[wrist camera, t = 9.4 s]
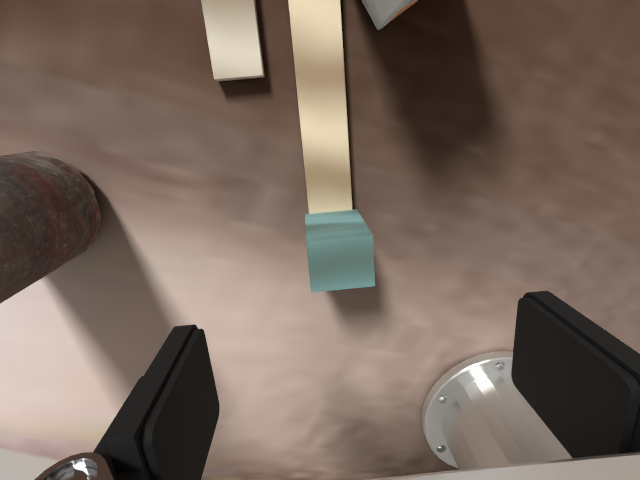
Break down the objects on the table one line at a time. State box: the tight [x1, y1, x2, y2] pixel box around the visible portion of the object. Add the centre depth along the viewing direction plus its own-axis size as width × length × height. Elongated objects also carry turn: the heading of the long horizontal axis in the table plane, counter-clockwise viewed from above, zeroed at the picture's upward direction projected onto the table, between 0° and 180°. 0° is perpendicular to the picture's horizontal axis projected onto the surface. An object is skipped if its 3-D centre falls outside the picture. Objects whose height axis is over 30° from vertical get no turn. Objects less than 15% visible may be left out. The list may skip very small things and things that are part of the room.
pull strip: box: [288, 0, 375, 293], centre depth 21 cm, size 22×11×7 cm, turn 5°
